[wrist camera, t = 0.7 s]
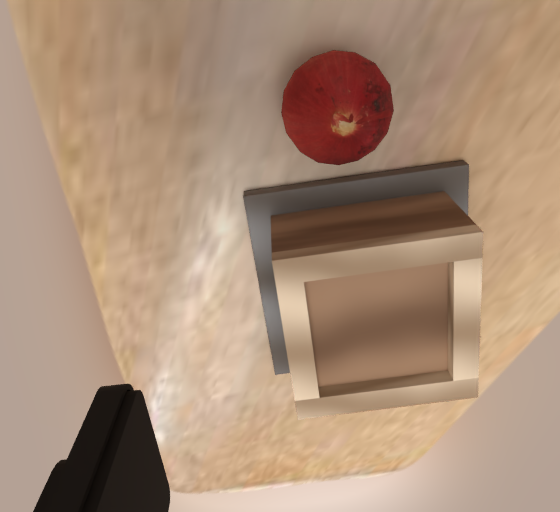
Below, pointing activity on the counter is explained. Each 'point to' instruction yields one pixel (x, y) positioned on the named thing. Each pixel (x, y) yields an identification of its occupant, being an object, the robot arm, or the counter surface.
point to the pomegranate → (337, 107)
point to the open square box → (371, 288)
